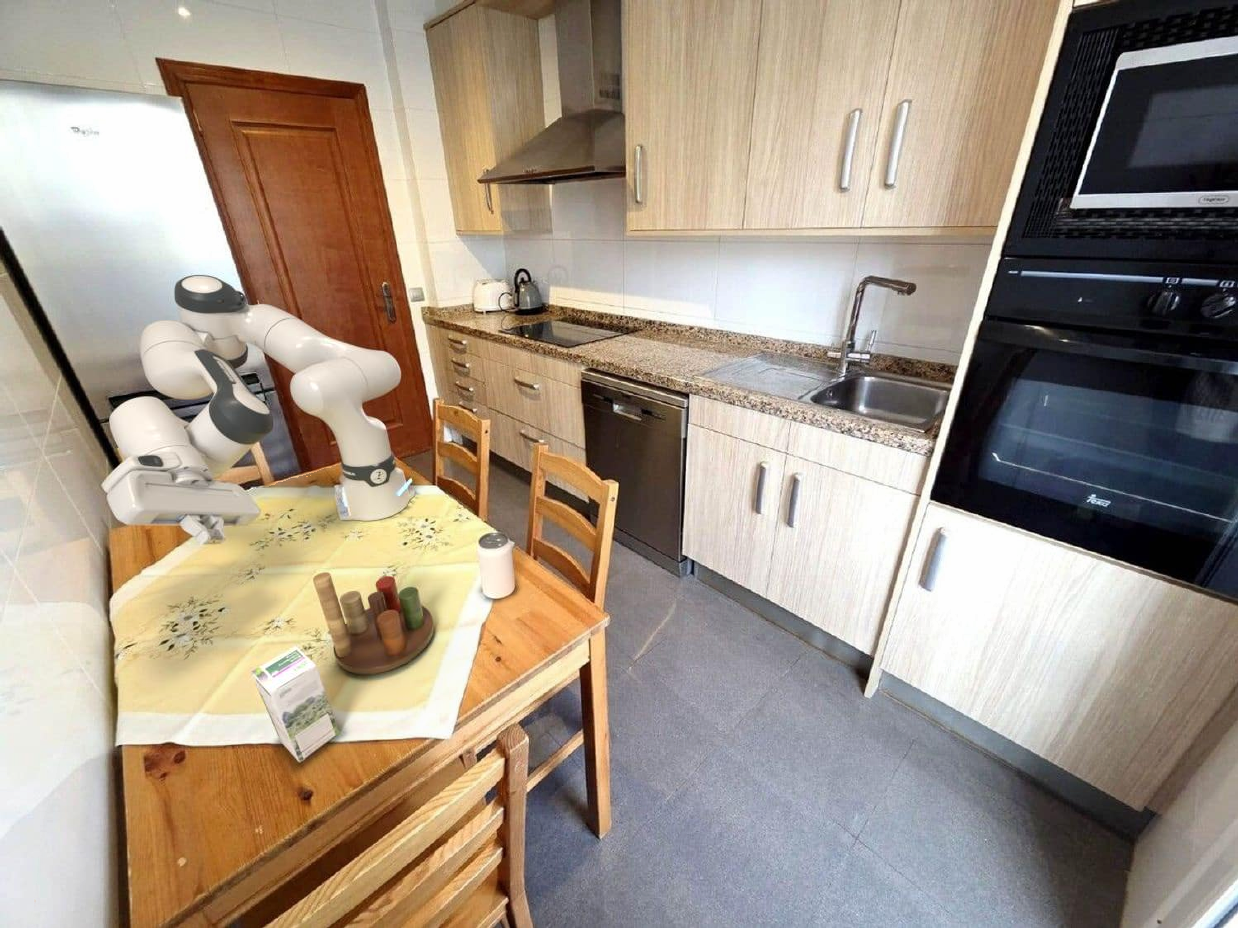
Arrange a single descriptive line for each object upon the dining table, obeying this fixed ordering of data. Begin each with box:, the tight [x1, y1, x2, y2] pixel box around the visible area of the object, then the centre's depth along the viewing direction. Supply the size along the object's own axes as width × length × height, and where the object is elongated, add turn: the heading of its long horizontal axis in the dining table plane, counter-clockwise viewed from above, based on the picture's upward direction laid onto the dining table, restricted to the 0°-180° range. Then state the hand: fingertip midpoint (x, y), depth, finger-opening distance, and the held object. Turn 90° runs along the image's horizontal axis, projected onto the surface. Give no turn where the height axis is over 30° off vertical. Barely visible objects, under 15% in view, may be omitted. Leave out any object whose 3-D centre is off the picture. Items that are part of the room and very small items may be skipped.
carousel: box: [312, 571, 435, 675], centre depth 85 cm, size 16×16×17 cm
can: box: [476, 531, 516, 600], centre depth 99 cm, size 6×6×12 cm
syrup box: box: [250, 645, 340, 763], centre depth 69 cm, size 6×6×14 cm
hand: (214, 541), depth 79 cm, fingers closed
